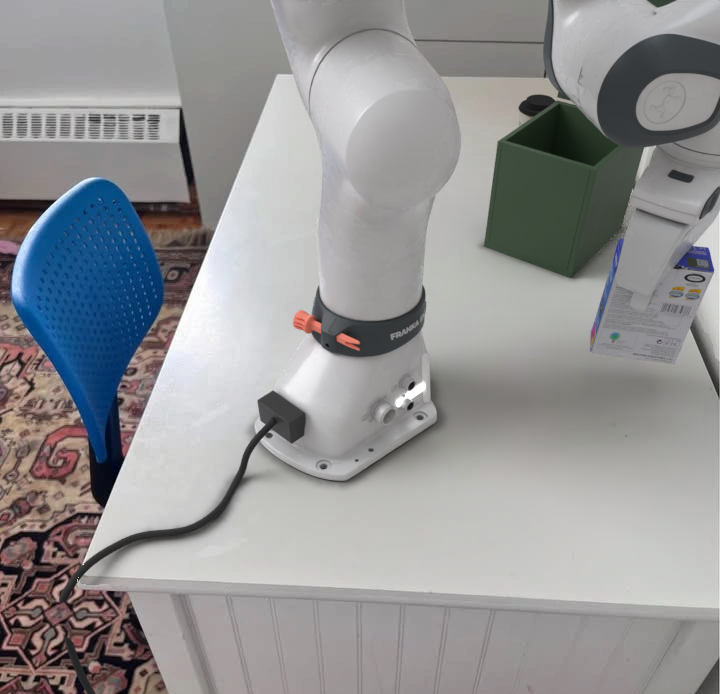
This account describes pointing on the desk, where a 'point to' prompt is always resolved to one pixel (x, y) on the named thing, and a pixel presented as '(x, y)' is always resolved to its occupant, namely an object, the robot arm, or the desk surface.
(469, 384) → the desk surface
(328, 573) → the desk surface
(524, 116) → the black capped white jar
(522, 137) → the bin
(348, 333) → the robot arm
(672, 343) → the ink cartridge box
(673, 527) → the desk surface
